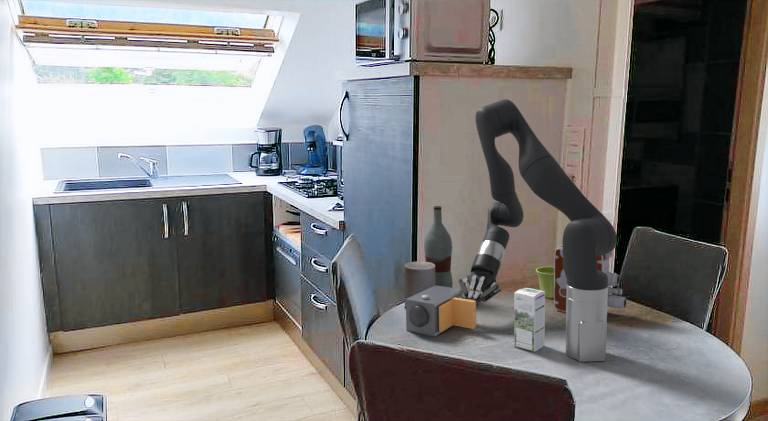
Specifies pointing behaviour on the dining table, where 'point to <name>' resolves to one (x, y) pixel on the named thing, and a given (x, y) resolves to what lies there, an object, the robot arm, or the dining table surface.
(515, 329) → the syrup box
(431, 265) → the pillar candle
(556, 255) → the cine camera
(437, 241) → the bottle
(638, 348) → the dining table surface
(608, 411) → the dining table surface
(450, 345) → the dining table surface
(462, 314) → the orange l-shaped bracket
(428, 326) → the block
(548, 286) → the plant pot
